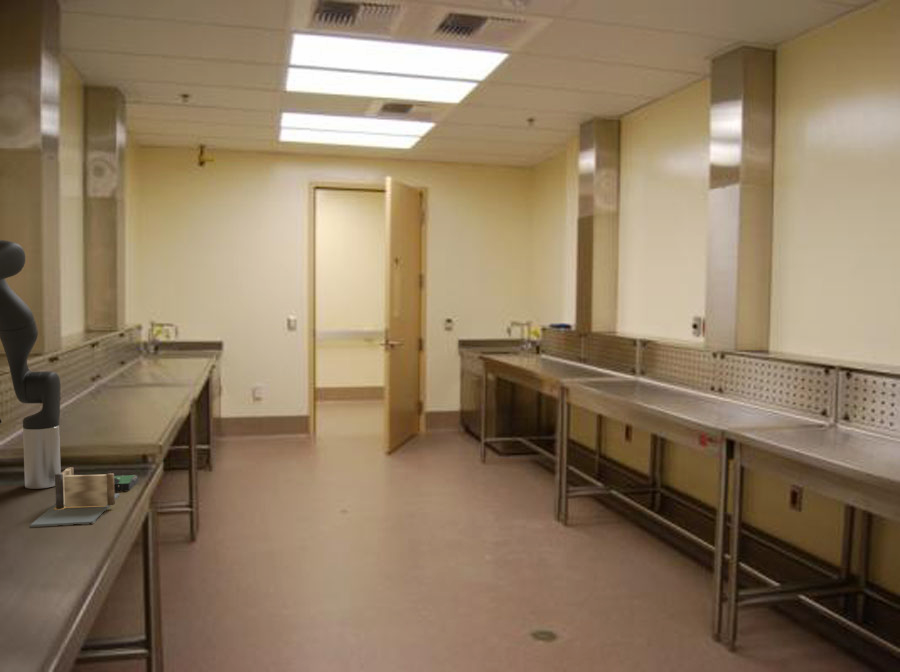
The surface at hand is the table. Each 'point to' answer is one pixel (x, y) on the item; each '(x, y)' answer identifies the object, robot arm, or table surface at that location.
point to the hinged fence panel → (89, 490)
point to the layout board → (70, 515)
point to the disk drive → (124, 482)
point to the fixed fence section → (61, 487)
